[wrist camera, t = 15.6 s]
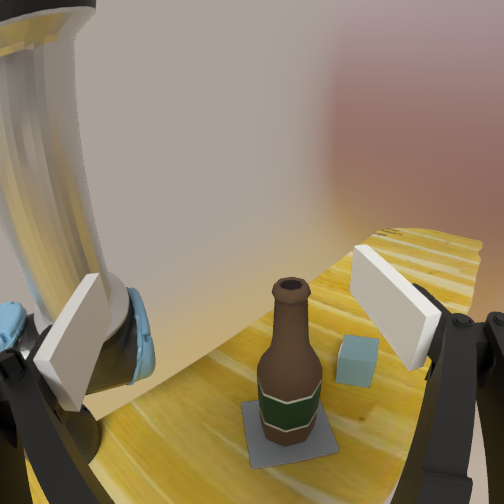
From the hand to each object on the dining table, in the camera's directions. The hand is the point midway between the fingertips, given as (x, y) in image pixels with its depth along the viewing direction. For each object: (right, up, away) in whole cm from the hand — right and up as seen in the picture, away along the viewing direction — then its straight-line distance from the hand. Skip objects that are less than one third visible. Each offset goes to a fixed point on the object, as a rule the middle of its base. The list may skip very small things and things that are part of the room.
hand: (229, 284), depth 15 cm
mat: (+6, -24, +24) cm, 35 cm away
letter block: (+19, -19, +33) cm, 43 cm away
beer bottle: (+6, -23, +24) cm, 34 cm away
